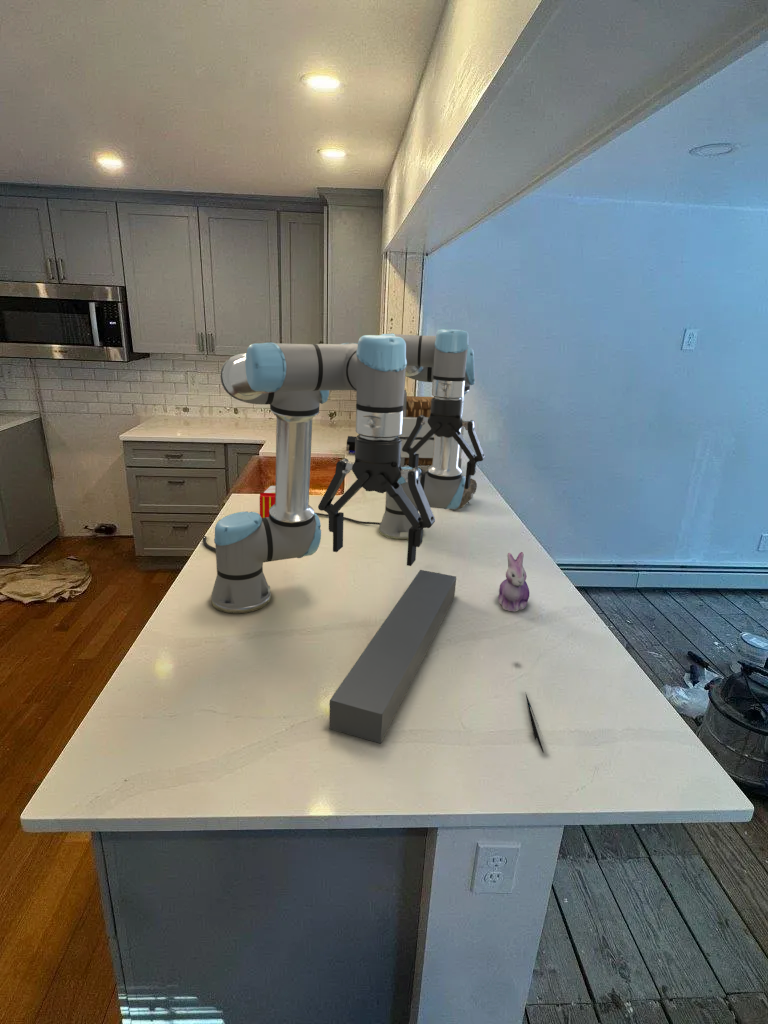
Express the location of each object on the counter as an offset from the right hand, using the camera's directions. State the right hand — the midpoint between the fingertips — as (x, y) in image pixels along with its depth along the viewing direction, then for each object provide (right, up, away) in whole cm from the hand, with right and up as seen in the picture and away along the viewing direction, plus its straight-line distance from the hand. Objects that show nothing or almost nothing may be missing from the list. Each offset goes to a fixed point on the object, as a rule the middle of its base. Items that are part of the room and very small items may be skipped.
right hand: (440, 483), depth 141 cm
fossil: (+17, -3, +93) cm, 95 cm away
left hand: (-16, -15, -43) cm, 48 cm away
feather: (+15, -46, -26) cm, 55 cm away
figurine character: (-31, +26, +167) cm, 172 cm away
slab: (-9, -39, -10) cm, 42 cm away
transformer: (+3, +12, +133) cm, 134 cm away
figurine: (+21, -32, +13) cm, 41 cm away
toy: (-53, -9, +68) cm, 86 cm away
